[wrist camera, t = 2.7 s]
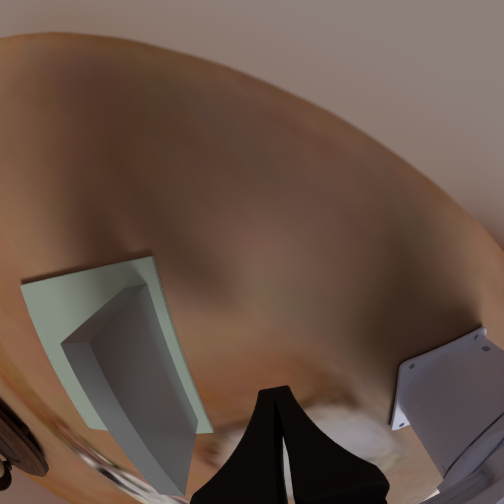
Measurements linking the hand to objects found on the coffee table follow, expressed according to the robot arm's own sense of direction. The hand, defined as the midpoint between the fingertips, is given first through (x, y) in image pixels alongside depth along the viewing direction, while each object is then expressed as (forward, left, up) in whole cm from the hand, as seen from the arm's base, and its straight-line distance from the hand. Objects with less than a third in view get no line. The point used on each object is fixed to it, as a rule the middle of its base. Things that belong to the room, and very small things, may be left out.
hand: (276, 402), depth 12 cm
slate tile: (+7, 0, -5) cm, 8 cm away
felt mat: (+11, 0, -5) cm, 13 cm away
